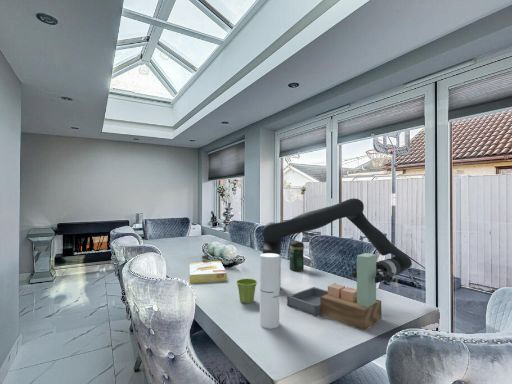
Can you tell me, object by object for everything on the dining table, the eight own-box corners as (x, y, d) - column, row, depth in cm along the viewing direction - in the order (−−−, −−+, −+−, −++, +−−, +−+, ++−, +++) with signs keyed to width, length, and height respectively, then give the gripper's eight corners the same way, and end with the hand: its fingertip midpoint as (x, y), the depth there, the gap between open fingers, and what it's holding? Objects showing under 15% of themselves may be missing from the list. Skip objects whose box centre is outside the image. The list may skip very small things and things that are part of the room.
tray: (316, 316, 109) (316, 306, 109) (287, 305, 120) (287, 296, 120) (342, 304, 122) (342, 295, 122) (313, 295, 133) (313, 286, 133)
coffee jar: (305, 271, 177) (305, 241, 177) (294, 272, 174) (294, 242, 175) (298, 267, 186) (299, 239, 186) (287, 268, 184) (288, 240, 184)
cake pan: (202, 268, 182) (202, 261, 182) (199, 260, 206) (199, 254, 206) (239, 266, 189) (239, 259, 189) (231, 258, 213) (231, 252, 213)
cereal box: (220, 260, 182) (227, 271, 155) (220, 268, 182) (227, 281, 155) (188, 262, 177) (189, 274, 150) (188, 271, 177) (189, 284, 149)
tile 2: (353, 302, 105) (353, 292, 105) (341, 298, 109) (341, 289, 109) (359, 299, 109) (359, 290, 109) (347, 295, 112) (347, 287, 112)
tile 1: (338, 298, 110) (338, 289, 110) (327, 294, 113) (327, 286, 113) (345, 295, 113) (345, 286, 113) (334, 292, 117) (334, 283, 117)
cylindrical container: (258, 320, 105) (259, 253, 106) (277, 319, 106) (278, 253, 106) (260, 328, 98) (261, 257, 99) (280, 328, 99) (281, 257, 99)
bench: (364, 331, 97) (364, 310, 97) (320, 314, 110) (320, 296, 111) (381, 319, 107) (381, 300, 107) (339, 305, 120) (339, 289, 120)
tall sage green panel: (367, 307, 100) (367, 257, 101) (356, 304, 103) (356, 255, 103) (376, 302, 105) (376, 254, 105) (365, 299, 108) (365, 253, 108)
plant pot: (241, 306, 118) (241, 285, 119) (232, 299, 127) (233, 280, 127) (260, 302, 123) (261, 283, 123) (251, 296, 131) (251, 277, 131)
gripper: (366, 258, 119) (346, 263, 108) (401, 264, 109) (383, 271, 98) (366, 275, 119) (346, 283, 108) (401, 283, 109) (383, 292, 98)
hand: (364, 277), depth 103 cm, fingers open, 8 cm apart
